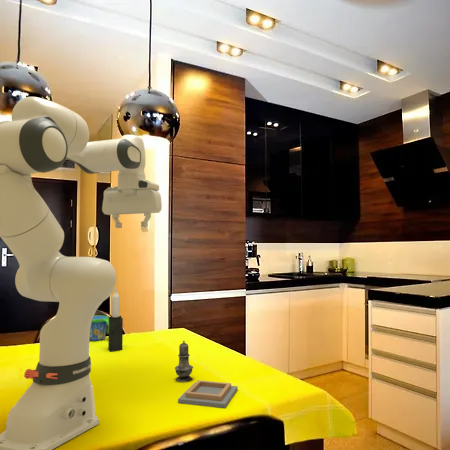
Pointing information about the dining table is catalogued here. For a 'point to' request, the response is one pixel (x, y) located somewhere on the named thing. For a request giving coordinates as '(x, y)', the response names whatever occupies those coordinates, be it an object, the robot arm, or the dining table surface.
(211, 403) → the base plate
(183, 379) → the salt shaker
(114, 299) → the candle
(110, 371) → the dining table surface
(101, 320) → the snack cup
